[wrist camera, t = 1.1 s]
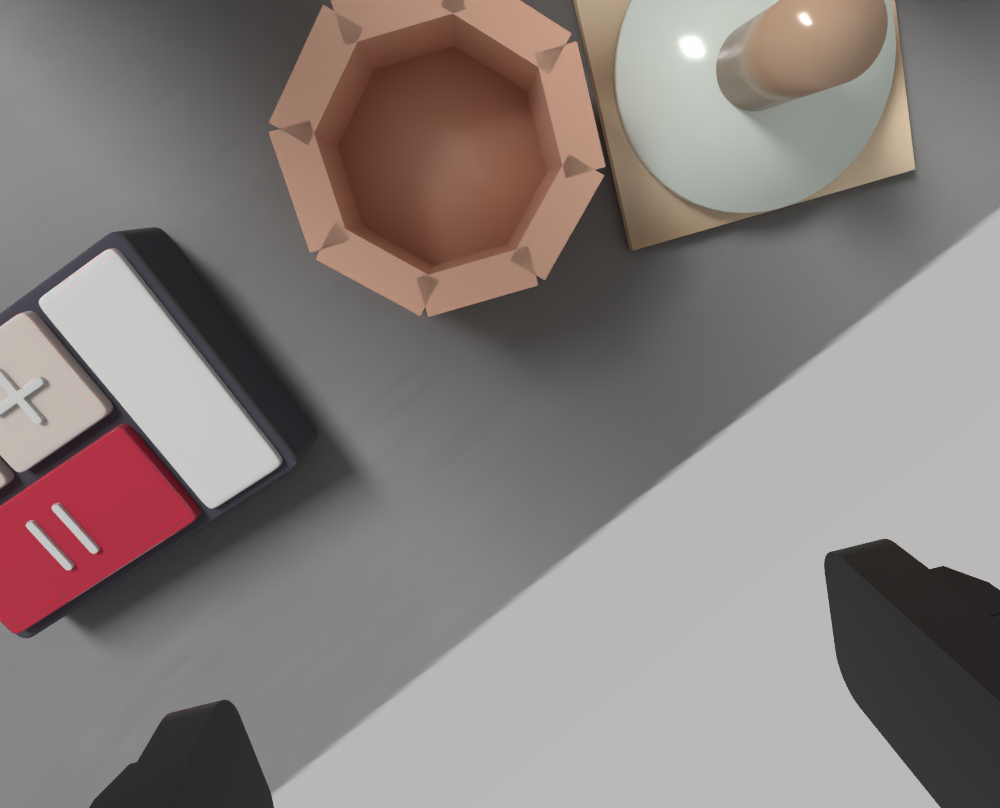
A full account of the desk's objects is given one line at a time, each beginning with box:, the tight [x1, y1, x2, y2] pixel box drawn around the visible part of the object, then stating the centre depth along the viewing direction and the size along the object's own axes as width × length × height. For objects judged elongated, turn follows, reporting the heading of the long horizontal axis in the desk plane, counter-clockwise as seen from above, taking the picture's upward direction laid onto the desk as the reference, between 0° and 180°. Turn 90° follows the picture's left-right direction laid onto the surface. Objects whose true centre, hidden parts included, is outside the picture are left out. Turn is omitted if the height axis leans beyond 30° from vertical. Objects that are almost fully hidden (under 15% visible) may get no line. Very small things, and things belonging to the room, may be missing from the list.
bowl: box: [269, 0, 606, 317], centre depth 27 cm, size 10×10×6 cm
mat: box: [573, 0, 915, 251], centre depth 29 cm, size 11×12×1 cm
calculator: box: [0, 227, 317, 638], centre depth 30 cm, size 11×4×15 cm
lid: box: [613, 0, 896, 213], centre depth 25 cm, size 11×11×7 cm
